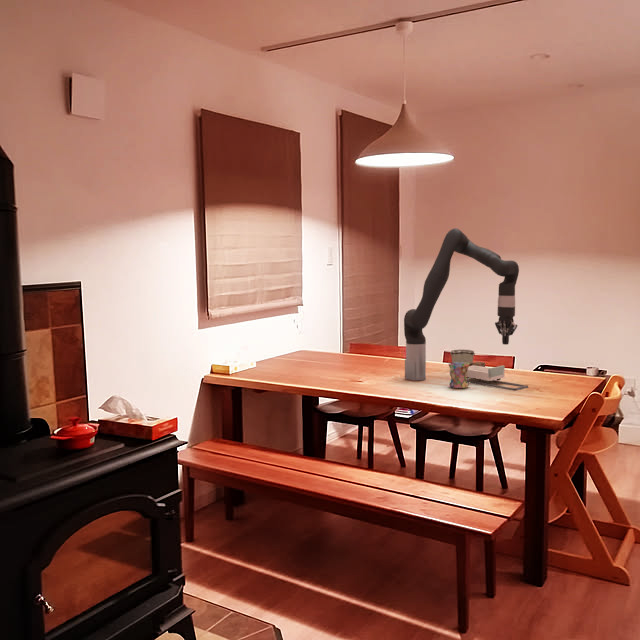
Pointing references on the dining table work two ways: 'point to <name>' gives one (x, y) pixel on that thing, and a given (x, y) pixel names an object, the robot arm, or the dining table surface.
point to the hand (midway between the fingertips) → (505, 344)
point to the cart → (486, 373)
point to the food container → (462, 356)
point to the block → (478, 364)
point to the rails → (501, 386)
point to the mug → (458, 374)
